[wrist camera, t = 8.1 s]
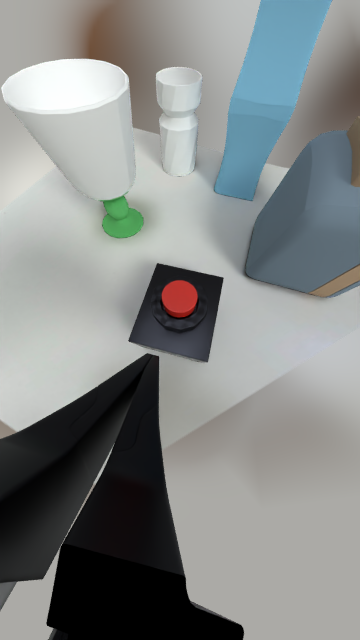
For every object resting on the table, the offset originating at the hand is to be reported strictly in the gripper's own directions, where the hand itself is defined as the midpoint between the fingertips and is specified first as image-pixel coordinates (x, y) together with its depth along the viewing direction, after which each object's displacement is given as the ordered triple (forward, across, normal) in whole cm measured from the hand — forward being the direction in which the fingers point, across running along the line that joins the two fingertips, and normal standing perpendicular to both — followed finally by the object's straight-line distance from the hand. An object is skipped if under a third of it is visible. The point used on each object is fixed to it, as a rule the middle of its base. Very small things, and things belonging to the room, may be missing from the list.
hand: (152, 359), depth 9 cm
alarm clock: (+27, -18, -9) cm, 34 cm away
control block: (+14, 0, +4) cm, 15 cm away
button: (+9, 0, -1) cm, 9 cm away
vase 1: (+44, +11, -26) cm, 52 cm away
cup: (+28, +18, -9) cm, 34 cm away
